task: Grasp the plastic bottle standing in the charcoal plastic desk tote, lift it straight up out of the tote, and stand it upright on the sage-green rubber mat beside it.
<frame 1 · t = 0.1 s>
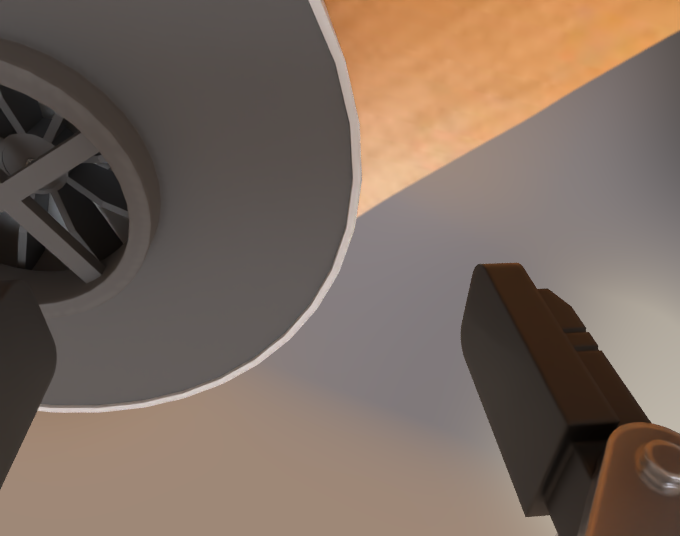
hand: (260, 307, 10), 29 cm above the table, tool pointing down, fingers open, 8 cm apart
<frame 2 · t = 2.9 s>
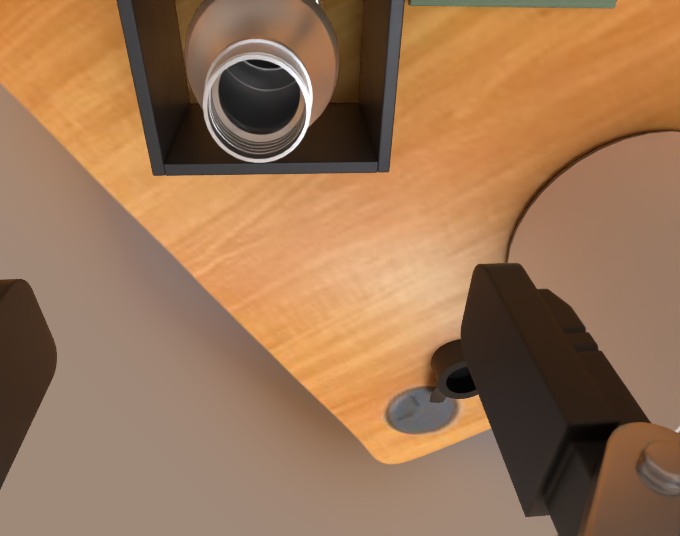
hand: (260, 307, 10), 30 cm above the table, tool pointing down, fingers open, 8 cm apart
plastic bottle: (270, 1, 33), resting in tote
tote: (270, 2, 33), on the table
humidifier: (630, 218, 46), on the table
black tabbed ring: (457, 357, 55), on the table
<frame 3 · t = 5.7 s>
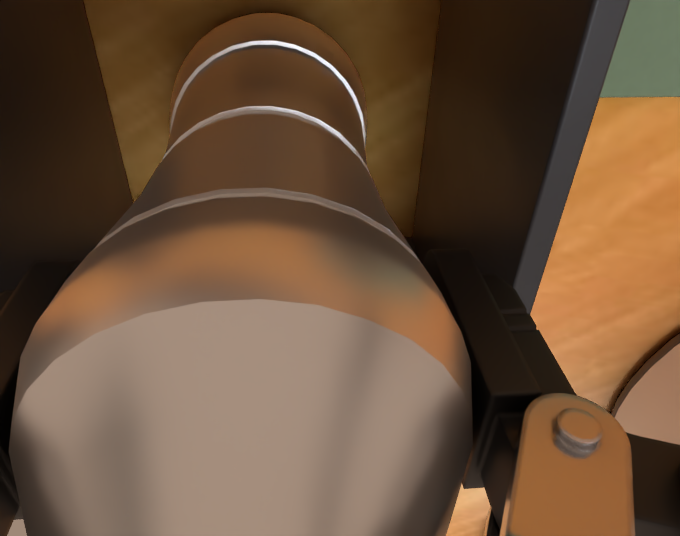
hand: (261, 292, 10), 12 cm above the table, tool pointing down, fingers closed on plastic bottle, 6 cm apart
plastic bottle: (272, 94, 19), resting in tote, touching gripper
tote: (272, 96, 19), on the table
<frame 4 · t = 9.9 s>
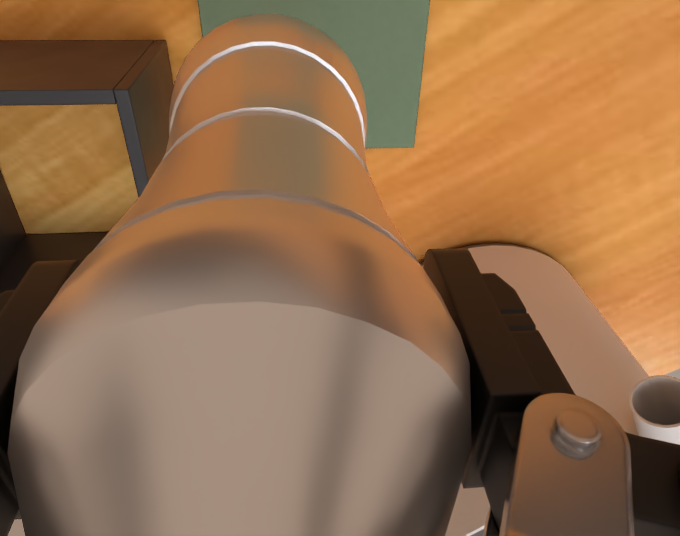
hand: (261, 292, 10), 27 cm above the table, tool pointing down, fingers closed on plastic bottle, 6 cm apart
plastic bottle: (272, 95, 19), point 15 cm above the table, touching gripper
tote: (85, 151, 36), on the table
humidifier: (477, 314, 48), on the table
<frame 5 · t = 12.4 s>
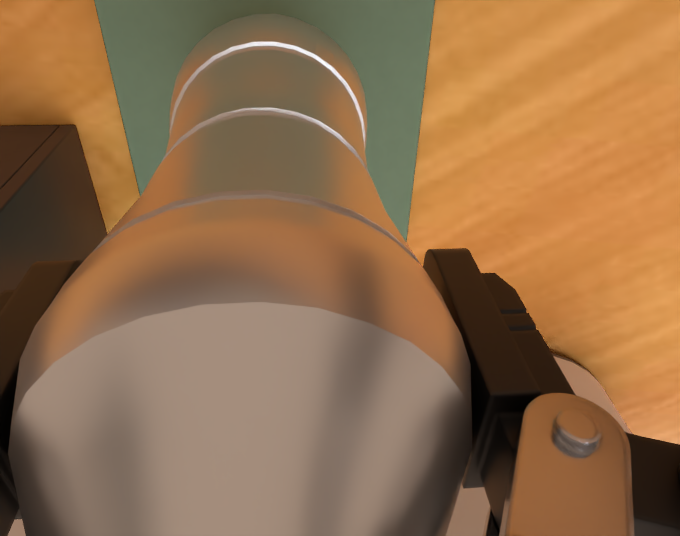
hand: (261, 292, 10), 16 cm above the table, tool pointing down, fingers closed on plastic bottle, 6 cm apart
plastic bottle: (272, 95, 19), point 5 cm above the table, touching gripper
humidifier: (482, 417, 41), on the table
mat: (272, 61, 23), on the table
when the fingers open (12 cm above the table, at t = 14.0 s): plastic bottle stays where it is, resting on mat.
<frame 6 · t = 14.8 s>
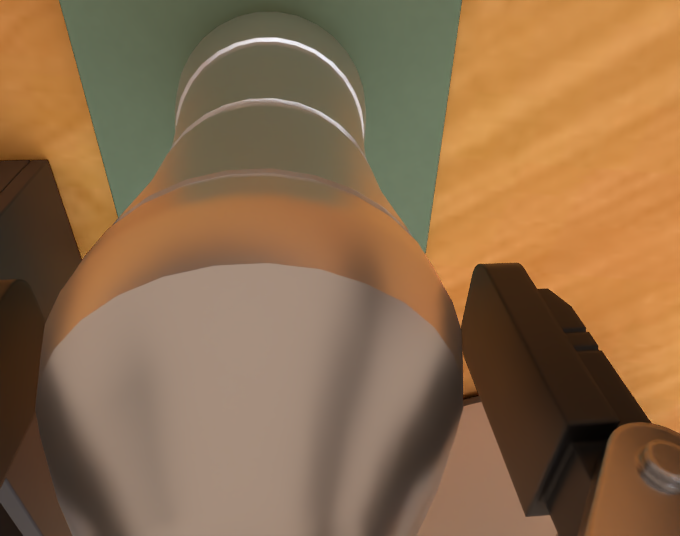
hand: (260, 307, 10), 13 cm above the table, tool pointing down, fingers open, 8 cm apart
plastic bottle: (274, 91, 20), resting on mat
humidifier: (499, 459, 38), on the table
mat: (272, 88, 20), on the table
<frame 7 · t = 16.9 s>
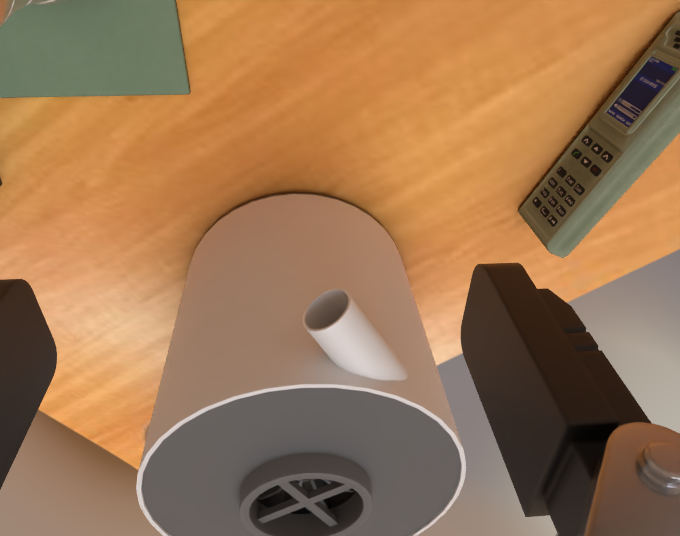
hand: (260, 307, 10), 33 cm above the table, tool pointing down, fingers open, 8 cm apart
handheld radio: (621, 96, 43), on the table
humidifier: (302, 266, 50), on the table
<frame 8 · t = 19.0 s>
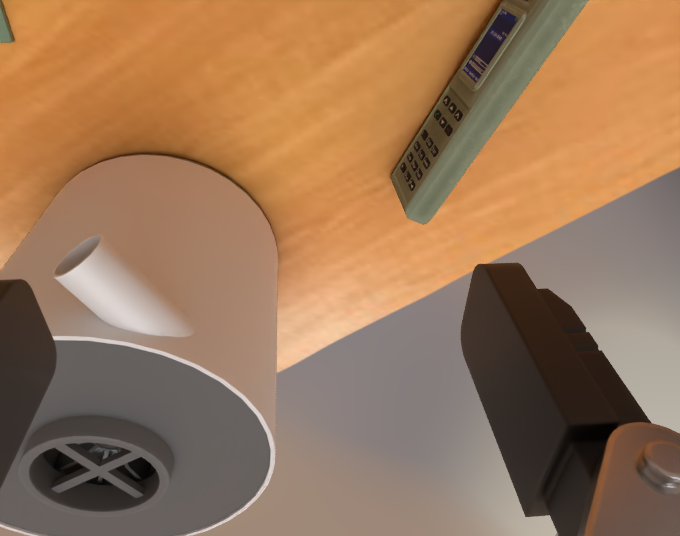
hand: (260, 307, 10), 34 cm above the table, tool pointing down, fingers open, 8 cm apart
handheld radio: (483, 54, 41), on the table
humidifier: (170, 234, 48), on the table
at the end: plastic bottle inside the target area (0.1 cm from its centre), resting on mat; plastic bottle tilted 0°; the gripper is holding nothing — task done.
